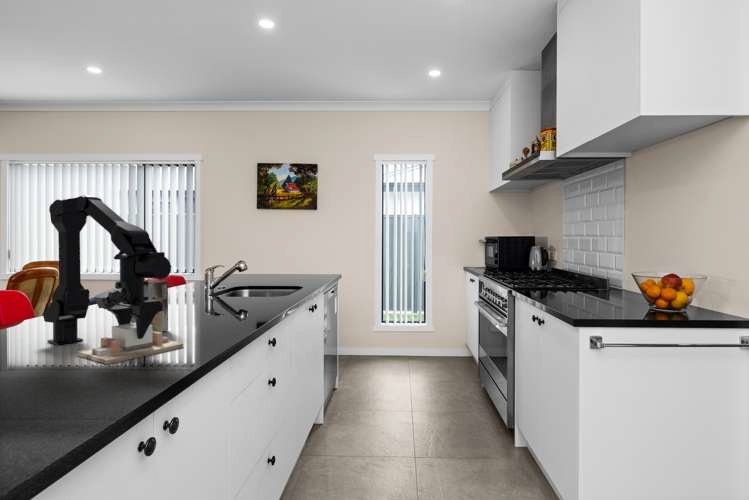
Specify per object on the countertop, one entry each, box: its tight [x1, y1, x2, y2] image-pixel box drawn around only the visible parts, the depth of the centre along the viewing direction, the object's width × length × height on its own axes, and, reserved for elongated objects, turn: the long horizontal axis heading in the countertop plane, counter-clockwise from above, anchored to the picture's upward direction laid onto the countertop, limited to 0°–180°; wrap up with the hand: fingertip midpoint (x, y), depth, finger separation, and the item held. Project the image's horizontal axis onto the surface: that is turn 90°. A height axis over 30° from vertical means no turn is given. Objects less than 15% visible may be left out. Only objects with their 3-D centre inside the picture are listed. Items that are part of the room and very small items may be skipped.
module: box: [111, 323, 152, 351], centre depth 115 cm, size 7×7×6 cm
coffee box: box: [130, 280, 169, 333], centre depth 137 cm, size 9×6×16 cm
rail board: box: [76, 331, 184, 365], centre depth 115 cm, size 14×20×4 cm
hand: (132, 336), depth 115 cm, fingers open, 7 cm apart
